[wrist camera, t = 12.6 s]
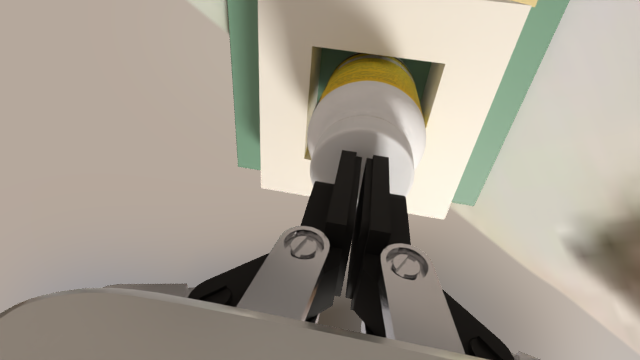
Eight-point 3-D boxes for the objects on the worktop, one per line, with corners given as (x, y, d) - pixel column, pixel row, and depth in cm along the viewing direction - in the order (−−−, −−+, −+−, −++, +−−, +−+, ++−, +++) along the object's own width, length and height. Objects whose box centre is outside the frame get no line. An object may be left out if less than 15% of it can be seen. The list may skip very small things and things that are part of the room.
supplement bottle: (320, 56, 19) (275, 117, 11) (412, 40, 18) (437, 96, 10) (334, 137, 22) (308, 232, 14) (416, 128, 21) (437, 228, 13)
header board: (571, -18, 16) (621, -14, 13) (472, 201, 24) (486, 239, 21) (228, -55, 18) (191, -60, 14) (241, 162, 25) (219, 192, 22)
